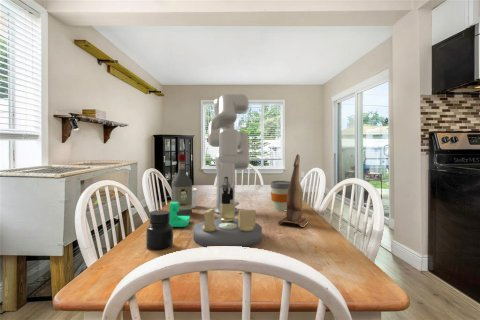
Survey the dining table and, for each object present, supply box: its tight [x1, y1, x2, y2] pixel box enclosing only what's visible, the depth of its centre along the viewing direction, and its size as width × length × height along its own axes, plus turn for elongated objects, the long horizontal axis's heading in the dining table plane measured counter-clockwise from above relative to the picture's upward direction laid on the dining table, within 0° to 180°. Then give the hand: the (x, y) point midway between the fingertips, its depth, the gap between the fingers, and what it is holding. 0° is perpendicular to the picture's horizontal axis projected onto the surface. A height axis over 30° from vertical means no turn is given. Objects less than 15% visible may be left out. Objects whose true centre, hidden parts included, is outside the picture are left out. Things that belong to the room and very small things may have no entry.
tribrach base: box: [193, 208, 263, 248], centre depth 114 cm, size 26×26×12 cm
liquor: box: [171, 153, 193, 216], centre depth 149 cm, size 9×9×30 cm
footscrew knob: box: [219, 203, 236, 223], centre depth 122 cm, size 6×5×7 cm
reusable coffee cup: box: [270, 180, 290, 212], centre depth 163 cm, size 13×12×15 cm
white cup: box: [192, 187, 198, 209], centre depth 166 cm, size 8×8×10 cm
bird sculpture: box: [277, 154, 309, 227], centre depth 133 cm, size 11×12×32 cm
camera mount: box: [168, 201, 191, 228], centre depth 130 cm, size 12×8×10 cm, turn 0°
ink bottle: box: [145, 209, 174, 251], centre depth 104 cm, size 10×9×12 cm
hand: (227, 201), depth 121 cm, fingers open, 9 cm apart
